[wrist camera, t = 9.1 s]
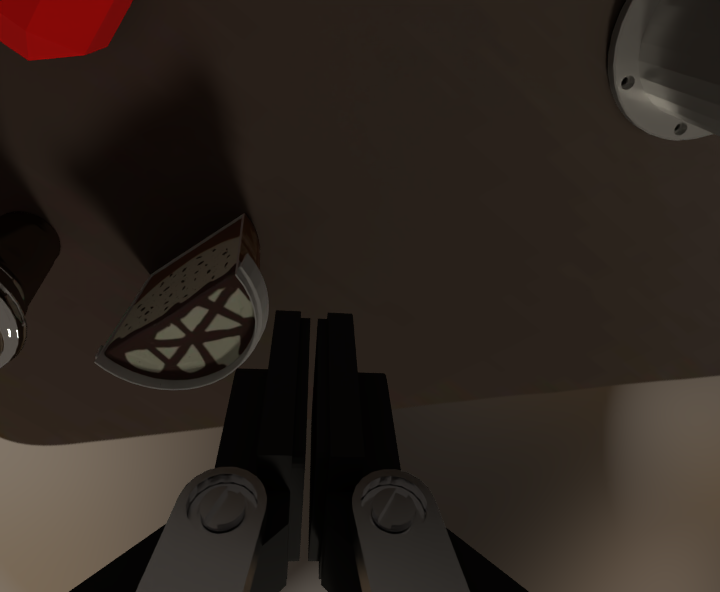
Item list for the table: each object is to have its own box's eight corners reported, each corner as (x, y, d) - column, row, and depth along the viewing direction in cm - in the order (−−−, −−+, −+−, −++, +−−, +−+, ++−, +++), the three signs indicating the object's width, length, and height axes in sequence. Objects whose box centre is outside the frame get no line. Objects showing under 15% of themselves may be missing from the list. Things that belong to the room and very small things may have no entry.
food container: (189, 335, 44) (158, 423, 36) (135, 283, 41) (87, 366, 33) (309, 263, 41) (306, 340, 33) (260, 202, 38) (243, 269, 30)
